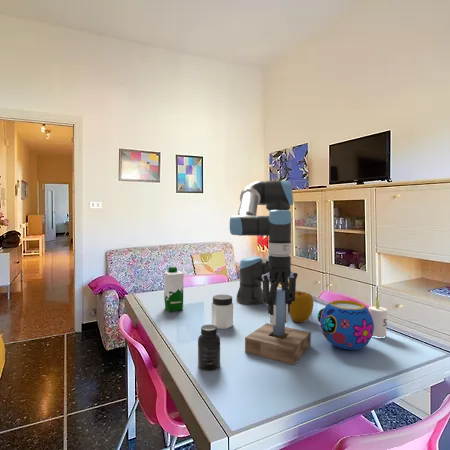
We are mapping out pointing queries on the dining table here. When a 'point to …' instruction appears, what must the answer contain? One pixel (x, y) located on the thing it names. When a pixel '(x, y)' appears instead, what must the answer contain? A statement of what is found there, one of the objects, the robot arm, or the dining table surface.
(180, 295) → the milk carton
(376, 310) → the candle
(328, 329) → the ceramic pot
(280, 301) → the dowel
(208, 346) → the supplement bottle
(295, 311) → the apple
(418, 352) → the dining table surface
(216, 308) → the jar
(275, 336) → the socket block
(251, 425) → the dining table surface
